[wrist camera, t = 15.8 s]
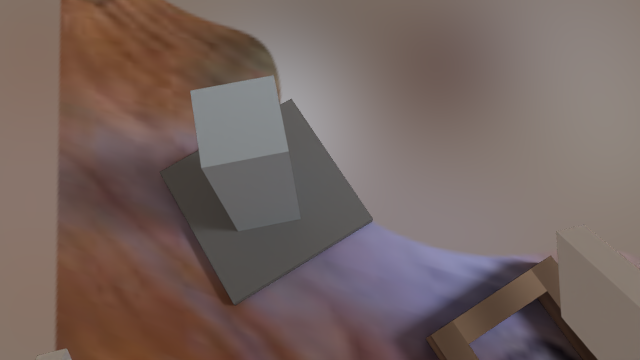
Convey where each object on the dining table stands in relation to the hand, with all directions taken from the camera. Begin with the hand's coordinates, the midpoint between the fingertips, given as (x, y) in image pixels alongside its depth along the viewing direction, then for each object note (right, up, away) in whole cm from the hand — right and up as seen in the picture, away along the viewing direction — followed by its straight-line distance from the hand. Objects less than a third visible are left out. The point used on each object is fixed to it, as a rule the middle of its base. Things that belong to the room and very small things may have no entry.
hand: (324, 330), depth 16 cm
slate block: (-4, +3, +22) cm, 22 cm away
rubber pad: (-4, +3, +22) cm, 23 cm away
